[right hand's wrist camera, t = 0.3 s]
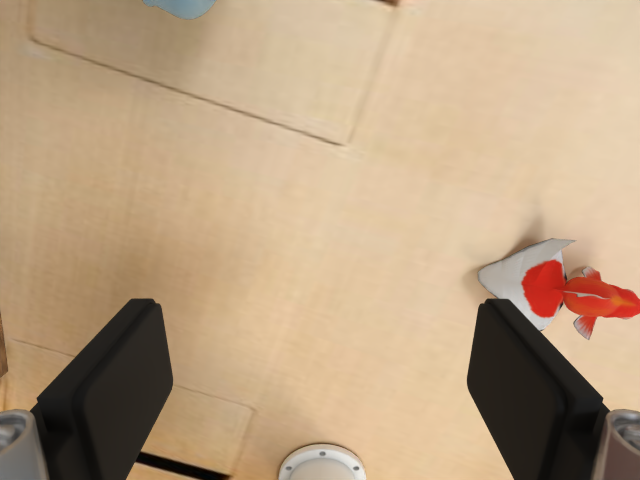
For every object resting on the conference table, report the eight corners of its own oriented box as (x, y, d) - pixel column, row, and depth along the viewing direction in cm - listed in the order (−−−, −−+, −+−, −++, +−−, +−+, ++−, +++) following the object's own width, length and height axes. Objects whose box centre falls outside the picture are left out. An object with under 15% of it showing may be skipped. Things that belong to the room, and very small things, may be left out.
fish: (586, 370, 44) (634, 390, 34) (457, 301, 48) (467, 301, 38) (630, 288, 44) (690, 284, 34) (497, 226, 48) (518, 208, 39)
